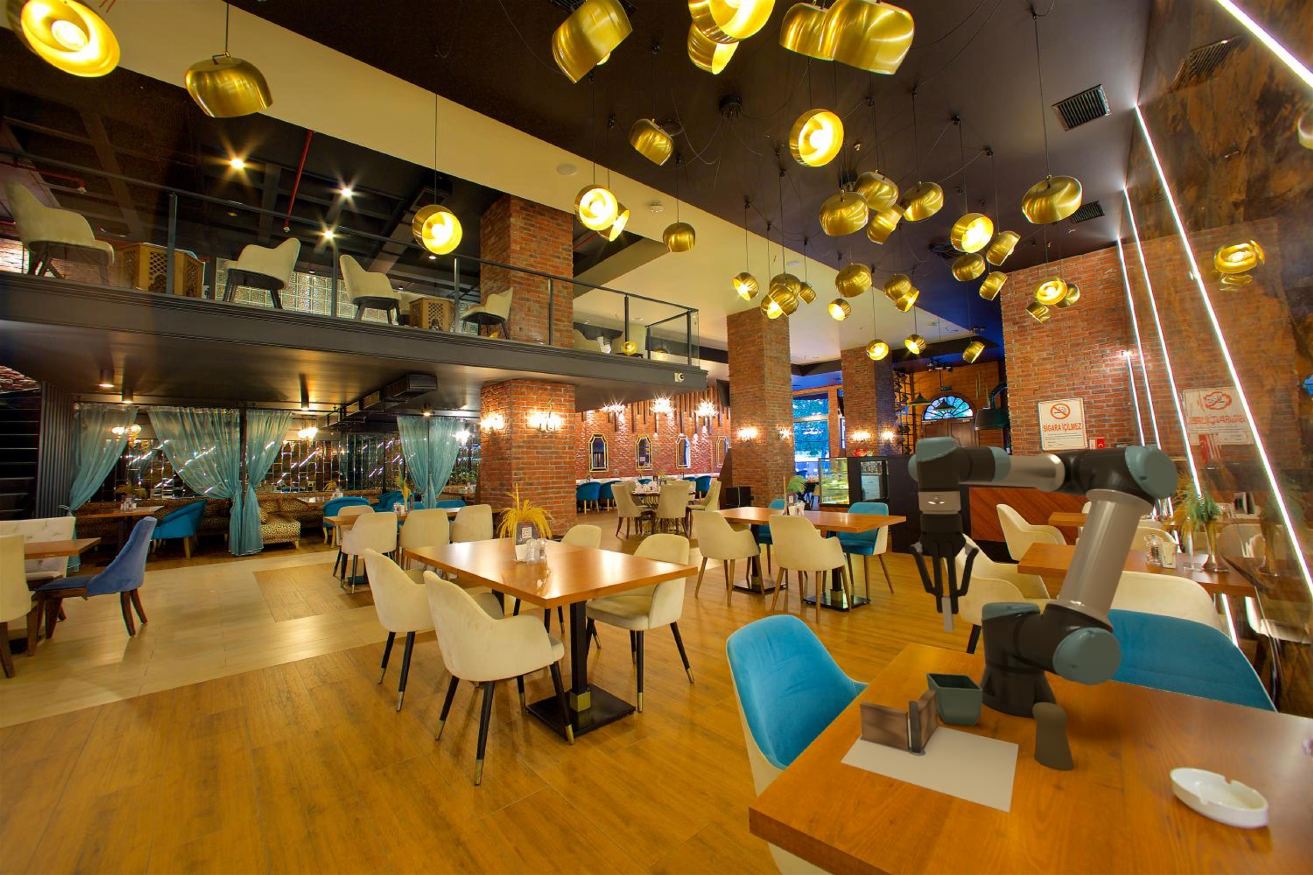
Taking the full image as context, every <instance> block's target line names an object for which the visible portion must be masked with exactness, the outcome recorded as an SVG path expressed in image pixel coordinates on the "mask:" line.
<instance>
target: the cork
mask: <svg viewBox="0 0 1313 875" xmlns="http://www.w3.org/2000/svg"><path fill="white" fill-rule="evenodd" d="M1032 711H1033V715H1034V717H1033V718H1034V720H1035V721H1036V728H1035V729H1036V730H1035V732H1036V733H1035V742H1034V743H1035V746H1034V756H1033V757H1034V760H1035V762H1036V763H1038V764H1040V765H1041V766H1044V767H1045V768H1049V769H1051V770H1054V771H1061V772H1062V771H1065V772H1069V771H1072V770H1074V768H1075V764H1074V760H1073V756H1072V751H1071V748H1070V744H1069V738H1068V734H1067V732H1066V731H1067V730H1066V726H1067V724H1068V722H1069V717H1068V714H1067V712H1066V710H1065V709H1064V708H1063V707H1061V706H1060V705H1058V704H1057V705H1055V704H1052V703H1047V702H1039V703H1036V704H1035V705H1034V706H1033V709H1032Z"/></svg>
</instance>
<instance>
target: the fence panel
mask: <svg viewBox="0 0 1313 875" xmlns="http://www.w3.org/2000/svg"><path fill="white" fill-rule="evenodd" d="M936 695H937V692H936V691H934V690H929V688H928V689H926V690H925V691H923V693H922V695H921V696H920V697H919V698H918V699H917V700H916V702H917V703H918V715H919V730H920V746H921V748H922V747H923V746H924V744H925V743H926V741H927V740H928V739H929V737H930V736H931V734H932V733H933V731H934V730H935V728H936V727H937V726H939V723H938V722H939V721H938V720H939V719H938V713H937V704H936Z"/></svg>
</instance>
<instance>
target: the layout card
mask: <svg viewBox="0 0 1313 875" xmlns="http://www.w3.org/2000/svg"><path fill="white" fill-rule="evenodd" d="M908 729H909V745H910V748H909V750H908V751H907V750H903V749H899V748H896V747H892V746H888V745H884V744H880V743H877V742H873V741H869V740H865V739H862V733H861V734H860V735H859V737H858V739H856V741H855V742H854V743H853V745H852V746H851V747H850V748H849V750H848V752H847V753H846V754H845V755H844V757H842V759H841V761H840V764H844V765H848V766H851V767H853V768H858V769H861V770H864V771H867V772H871V773H874V774H877V775H881V776H885V777H888V778H892V779H894V780H899V781H901V782H905V783H907V784H908V783H909V784H912V785H915V786H918V787H921V788H925V789H928V790H932V791H935V792H938V793H941V794H944V795H948V796H951V797H954V798H958V799H961V800H965V801H969V802H972V803H975V804H978V805H982V806H985V807H989V808H992V809H996V810H999V811H1002V812H1005V813H1008V814H1009V813H1010V809H1011V804H1012V802H1011V801H1012V796H1013V788H1014V781H1015V773H1016V767H1017V761H1018V760H1017V759H1018V752H1019V744H1017V743H1013V742H1008V741H1004V740H1000V739H996V738H991V737H986V736H982V735H979V734H978V735H977V734H974V733H969V732H965V731H961V730H957V729H953V728H948V727H944V726H939V725H937V727H936V728H935V730H934V731H933V733H932V734H931V736H930V737H929V739H928V740H927V741H926V743H925V744H924V746H923V747H922V748H921V753H914V752H912V750H911V733H910V718H908Z"/></svg>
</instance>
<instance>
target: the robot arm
mask: <svg viewBox="0 0 1313 875" xmlns="http://www.w3.org/2000/svg"><path fill="white" fill-rule="evenodd" d="M956 444H957V443H956V439H955V438H954V437H952V436H940V437H938V436H937V437H926V438H920V439H918V440H917V441H916V443H915V453H914V454H913V455H912V456H911V457H910V459H909V461H908V465H907V468H908V473H909V475H910V477H911V478H912V479H913V480H914V481H916V482H917V488H918V504H919V505H918V506H919V508H918V509H919V510H920V511H922V513H920V515H919V520H920V531H921V532H920V537H919V538H918V541H917V542H916V543H915V544H911V545H909V546H908V551H909V552H910V553H911V555H912V557H914V560H915V565H916V566H917V570H918V573H919V575H920V579H921V582H922V586H923V588H924V591H925V593H927V594H931V595H933V596H934V597H935V603H936V611H937V613H938V614H942V618H943V631H944V632H949V633H953V632H954V630H955V619H954V615H958V613H959V612H960V607H959V597H966V596H967V594H968V592H969V587H970V582H971V576H972V572H973V568H974V567H973V566H974V563H975V562H974V561H975V558H976V556H978V554H979V553H980V548H979V547H978V546H973V545H972V544H971V543H968V542H967V539H966V537H965V535H964V532H963V530H964V529H963V522H962V521H963V520H962V519H963V516H962V514H961V513H959V511H961V510H962V508H961V495H960V492H961V491H960V485H978V486H979V485H981V486H982V485H983V486H1003V487H1004V486H1005V487H1006V486H1007V487H1020V488H1021V487H1023V488H1035V489H1037V490H1039V491H1041V492H1043V493H1057V494H1063V495H1069V496H1071V495H1072V496H1078V497H1086V498H1087V500H1088V501H1089V502H1090V503H1091V504H1090V507H1089V510H1088V513H1087V516H1086V518H1085V521H1084V523H1083V527H1082V529H1081V532H1080V536H1079V538H1078V541H1077V543H1076V546H1075V549H1074V552H1073V555H1072V557H1071V561H1070V563H1069V565H1068V566H1069V567H1068V569H1067V572H1066V575H1065V577H1064V580H1063V582H1062V586H1061V588H1060V591H1059V593H1058V596H1057V599H1054V600H1052V601H1048V602H1046V603H1045V606H1044V609H1043V613H1041V612H1042V611H1041V609H1040V606H1039V605H1038V604H1036V603H1033V602H1026V601H1025V602H1022V601H1021V602H1020V601H997V602H988V603H985V604H984V605H982V607H981V619H980V621H981V631H982V642H983V644H982V645H983V651H984V652H983V653H984V662H985V663H984V668H983V672H982V675H981V679H980V682H979V685H978V686H980V687H981V688H982V689H983V692H982V704H984V705H985V706H988V707H989V708H992V709H994V710H997V711H1000V712H1003V713H1006V714H1009V715H1015V716H1019V717H1027V718H1034V715H1033V711H1032V709H1033V706H1034V705H1035V704H1036V703H1039V702H1047V703H1052V704H1055V705H1058V702H1057V698H1056V696H1055V693H1054V691H1053V690H1052V687H1051V685H1050V683H1049V680H1048V678H1047V676H1046V672H1048V673H1050V674H1053V675H1056V676H1058V677H1061V678H1062V679H1065V680H1067V681H1068V682H1069V681H1070V682H1075V683H1079V684H1081V685H1086V686H1097V685H1099V684H1101V683H1102V684H1103V683H1105V682H1107V681H1109V680H1110V679H1112V677H1114V676H1115V674H1116V672H1117V671H1118V670H1119V668H1120V665H1121V661H1122V652H1121V651H1120V649H1121V644H1120V642H1119V640H1118V638H1117V637H1116V636H1115V635H1114V634H1113V633H1114V626H1113V624H1112V623H1111V621H1110V620H1109V618H1108V617H1109V613H1110V611H1111V608H1112V604H1113V600H1114V598H1115V597H1116V592H1117V589H1118V586H1119V584H1120V580H1121V577H1122V575H1123V571H1124V569H1125V566H1126V563H1127V559H1128V556H1129V555H1130V554H1129V553H1130V551H1131V548H1132V545H1133V542H1134V539H1135V536H1136V534H1137V531H1138V526H1139V525H1140V524H1139V523H1140V521H1141V518H1142V517H1143V516H1147V515H1150V514H1151V513H1153V512H1154V509H1155V507H1156V503H1157V500H1160V501H1161V500H1165V499H1166V500H1167V499H1169V498H1170V497H1173V495H1175V494H1176V493H1177V490H1178V486H1179V476H1178V471H1177V468H1176V466H1175V464H1174V462H1173V460H1172V458H1171V457H1170V456H1169V454H1167V453H1166V452H1165V451H1164V450H1162V449H1160V448H1158V447H1156V446H1153V445H1152V446H1151V445H1134V444H1132V445H1129V446H1121V447H1105V448H1088V449H1080V450H1073V451H1066V452H1057V453H1056V452H1055V453H1054V452H1053V453H1052V452H1043V453H1039V454H1038V455H1036V456H1030V455H1029V456H1028V455H1013V454H1012V455H1011V454H1008V453H1007V451H1006V450H1005V449H1003V448H1001V447H998V446H990V445H985V446H964V447H959V446H957V445H956ZM923 549H924V550H925V551H926V552H927V553H928V555H929V556H931V561H932V566H933V567H932V570H933V582H934V583H932V579H931V576H930V573H929V571H928V567H927V564H926V561H925V558H924V555H923V554H922V553H923ZM963 549H964V550H965V551H964V555H966V559H965V562H964V568H963V572H962V573H963V574H962V578H961V583H960V587H959V588H958V580H957V567H956V557H957V556H958V555H959V554H960V553H961V551H962V550H963ZM942 559H945V561H946V568H947V579H948V580H947V582H948V590H949V591H948V592H949V595H944V594H945V593H944V592H945V591H944V583H943V582H944V580H943V567H942ZM933 584H934V585H933Z"/></svg>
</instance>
